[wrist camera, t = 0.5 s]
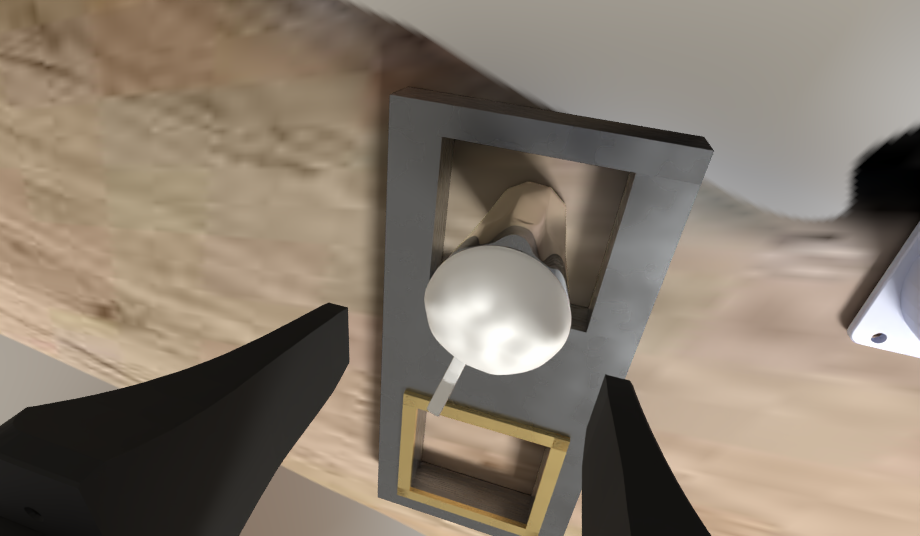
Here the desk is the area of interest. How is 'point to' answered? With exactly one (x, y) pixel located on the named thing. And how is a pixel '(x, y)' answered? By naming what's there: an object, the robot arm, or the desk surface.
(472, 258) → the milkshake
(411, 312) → the grey board with holes
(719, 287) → the desk surface
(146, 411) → the robot arm
